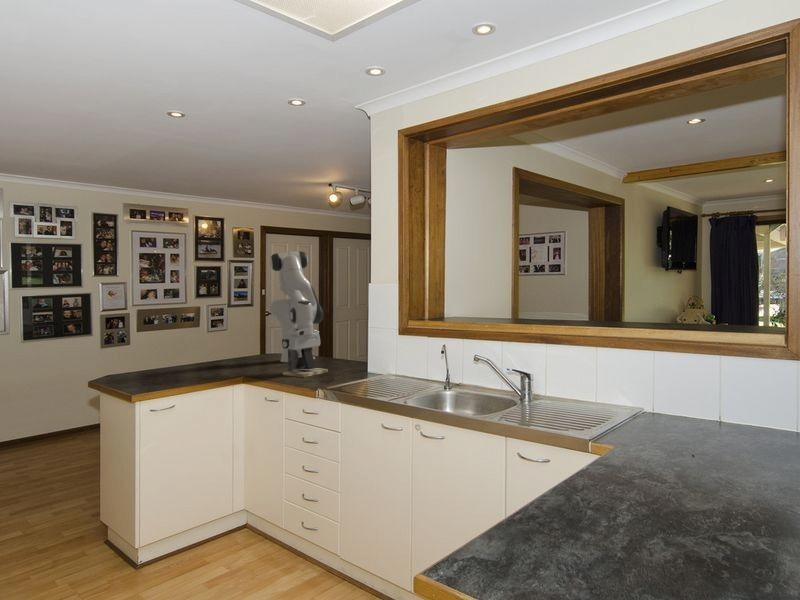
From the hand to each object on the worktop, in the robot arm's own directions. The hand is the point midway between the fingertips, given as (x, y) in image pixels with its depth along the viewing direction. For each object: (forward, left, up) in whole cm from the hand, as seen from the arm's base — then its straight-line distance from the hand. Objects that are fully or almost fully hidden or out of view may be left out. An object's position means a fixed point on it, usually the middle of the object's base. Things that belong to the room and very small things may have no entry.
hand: (305, 356), depth 288 cm
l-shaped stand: (0, 0, -9) cm, 9 cm away
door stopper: (0, 0, -7) cm, 7 cm away
